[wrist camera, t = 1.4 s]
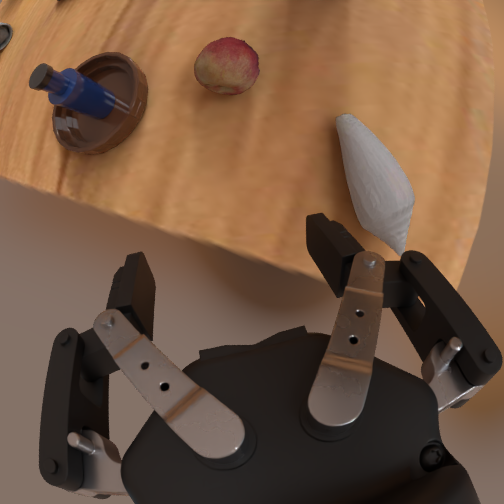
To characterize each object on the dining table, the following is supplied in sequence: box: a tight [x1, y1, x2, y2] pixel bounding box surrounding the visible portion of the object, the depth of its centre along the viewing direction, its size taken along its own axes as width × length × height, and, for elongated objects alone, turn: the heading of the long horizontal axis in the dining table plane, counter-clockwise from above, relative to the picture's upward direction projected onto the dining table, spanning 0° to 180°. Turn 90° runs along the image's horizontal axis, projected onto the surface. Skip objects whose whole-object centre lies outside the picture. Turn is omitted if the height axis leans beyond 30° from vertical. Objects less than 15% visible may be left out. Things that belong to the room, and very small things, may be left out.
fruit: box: [194, 37, 260, 95], centre depth 27 cm, size 8×8×8 cm
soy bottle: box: [29, 63, 115, 120], centre depth 24 cm, size 5×5×15 cm
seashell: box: [336, 114, 415, 256], centre depth 30 cm, size 9×11×15 cm
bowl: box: [52, 52, 148, 155], centre depth 30 cm, size 15×15×4 cm
